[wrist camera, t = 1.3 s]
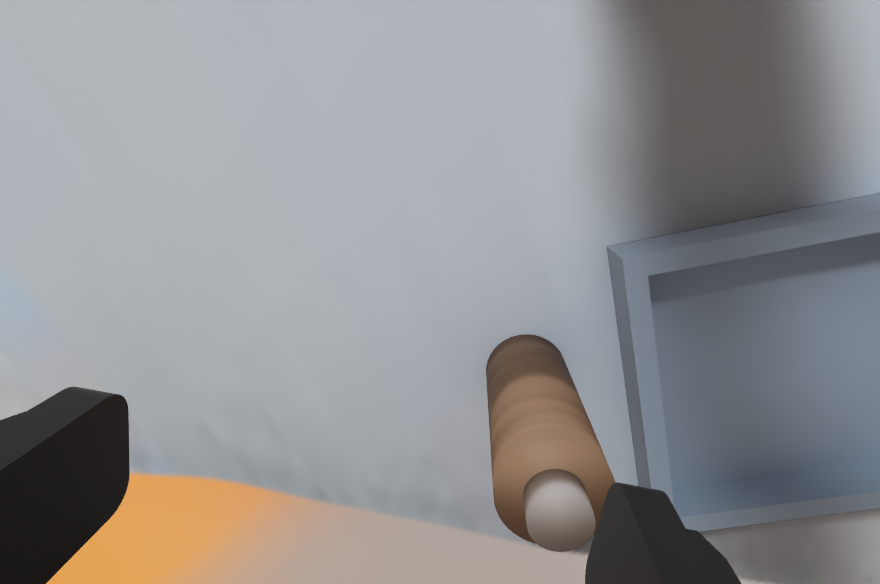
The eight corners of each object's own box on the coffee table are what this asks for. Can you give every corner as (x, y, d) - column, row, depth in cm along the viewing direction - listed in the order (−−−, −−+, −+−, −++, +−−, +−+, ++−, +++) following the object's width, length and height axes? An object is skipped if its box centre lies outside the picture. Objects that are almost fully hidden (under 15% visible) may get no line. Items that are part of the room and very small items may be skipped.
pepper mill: (479, 342, 32) (484, 478, 19) (558, 328, 32) (619, 457, 19) (494, 412, 34) (507, 583, 21) (570, 399, 33) (635, 568, 20)
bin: (607, 246, 30) (622, 258, 27) (941, 180, 28) (998, 185, 25) (641, 502, 35) (657, 537, 32) (929, 462, 33) (976, 495, 30)
